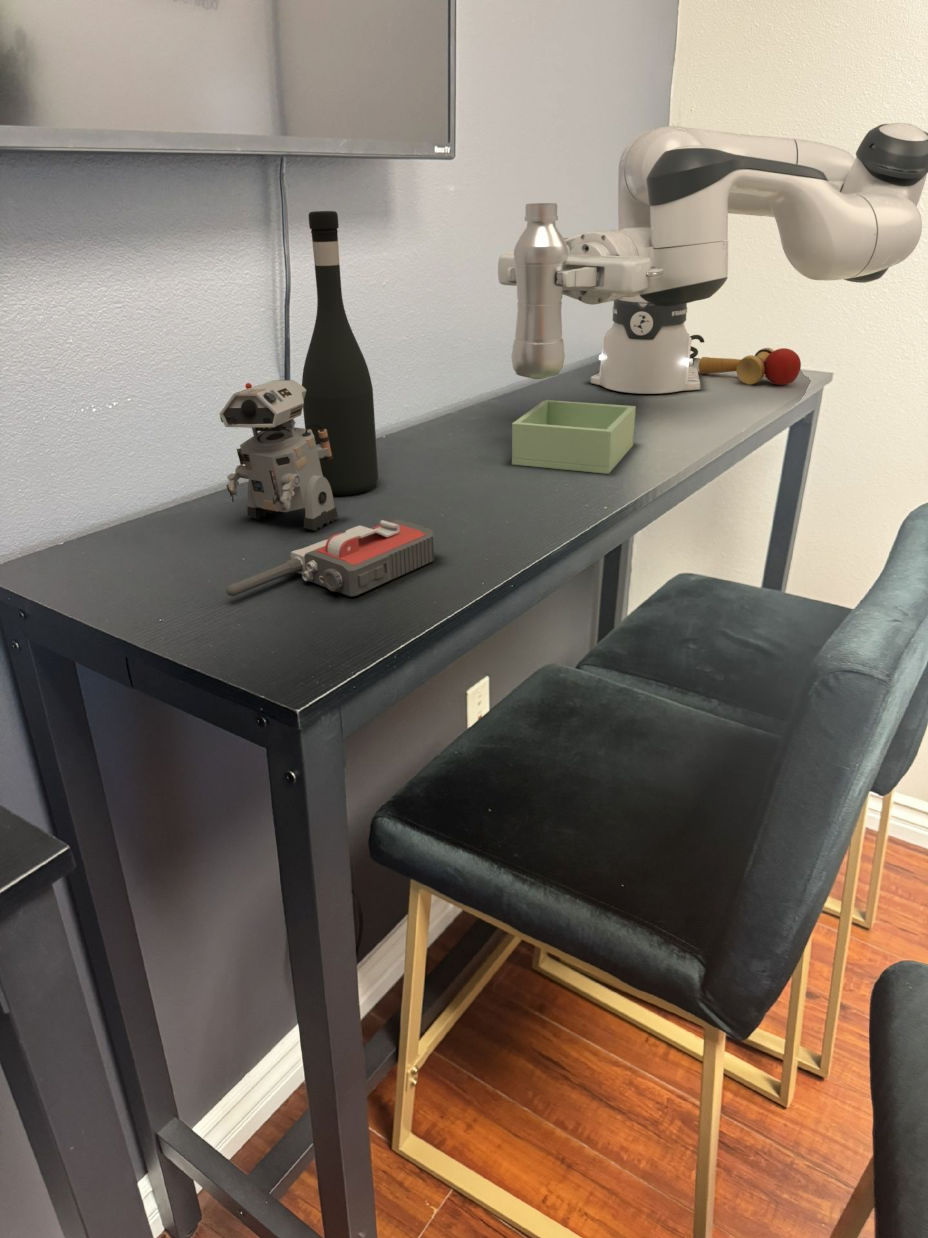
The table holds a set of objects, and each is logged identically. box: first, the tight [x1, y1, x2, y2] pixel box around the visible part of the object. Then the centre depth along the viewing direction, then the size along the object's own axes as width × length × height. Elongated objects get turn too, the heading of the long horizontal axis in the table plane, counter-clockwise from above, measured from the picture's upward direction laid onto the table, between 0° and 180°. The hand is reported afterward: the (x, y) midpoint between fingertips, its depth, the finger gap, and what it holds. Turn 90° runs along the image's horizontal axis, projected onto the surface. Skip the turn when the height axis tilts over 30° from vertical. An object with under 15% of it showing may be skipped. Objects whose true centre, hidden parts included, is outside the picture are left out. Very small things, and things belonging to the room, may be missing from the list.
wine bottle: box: [301, 210, 379, 496], centre depth 100 cm, size 8×8×30 cm
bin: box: [511, 399, 636, 475], centre depth 116 cm, size 14×13×5 cm
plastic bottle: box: [510, 202, 568, 380], centre depth 109 cm, size 6×7×20 cm
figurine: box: [219, 379, 338, 532], centre depth 92 cm, size 9×12×15 cm
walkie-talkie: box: [225, 518, 435, 598], centre depth 82 cm, size 9×4×20 cm
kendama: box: [698, 347, 802, 386], centre depth 156 cm, size 8×6×18 cm
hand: (535, 277), depth 107 cm, fingers closed on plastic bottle, 6 cm apart
